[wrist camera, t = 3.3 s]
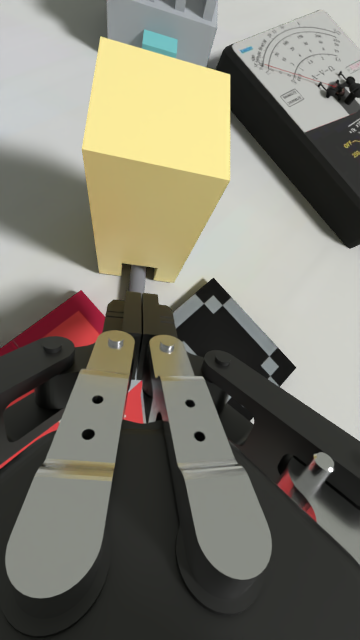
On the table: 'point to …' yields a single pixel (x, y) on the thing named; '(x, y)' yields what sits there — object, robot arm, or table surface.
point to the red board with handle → (192, 330)
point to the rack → (166, 24)
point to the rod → (169, 48)
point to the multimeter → (305, 111)
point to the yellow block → (153, 156)
